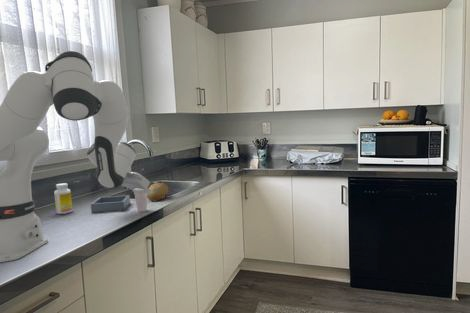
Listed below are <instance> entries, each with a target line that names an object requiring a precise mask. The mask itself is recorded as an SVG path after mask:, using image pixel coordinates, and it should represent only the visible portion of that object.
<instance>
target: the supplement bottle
mask: <svg viewBox="0 0 470 313" xmlns="http://www.w3.org/2000/svg"><path fill="white" fill-rule="evenodd" d="M68 185H69V184H68V183H66V182H64V183H63V182H62V183H57V184H55V188H56V190H54V191H53V192H54V193H53V194H54V202H55V211H56V214H58V215H65V214H70V213H72V212H73V211H74V210H73V201H72V200H73V199H72V190H71V189H70V188H68Z"/></svg>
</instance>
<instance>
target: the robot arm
mask: <svg viewBox="0 0 470 313" xmlns="http://www.w3.org/2000/svg"><path fill="white" fill-rule="evenodd" d="M86 57H87V56H85V55H83V54H82V53H80V52H77V51H73V50H69V51H65V52H61V53H60V54H58V55H56V56H55V58H54V59H53V60H51V61H49V62H47V63H46V64H45V67H44V68H45V69H44V70H45V72H40V71H34V70H29V71H26V72H23V73H22V74H20V75H19V76H18V77H17V78H16V80H15V81H14V82H13V83H12V84H11V86H10V87H9V89H8V90H7V92H6V93H5V96H4V98H3V100H2V103H1V104H0V162H4V161H6V165H5V167H4V169H3V170H2V171H0V263H5V262H11V261H14V260H18V259H21V258H23V257H24V256H26V255H28V254H30V253H31V252H33V251H35V250H37V249H38V248H40V247H42V246H43V245H46V244H47V243H48V242H49V241H48V240H49V239H48V238H46V237H44V233H43V228H42V223H41V222H42V221H41V218H40V217H39V216H38V215H37V214H36V213H35V211H36V209H35V208H36V207H35V200H34V199H33V196H32V174H33V171H34V167H35V166H36V163H37V161H38V160H39V159H40V158H41V156H43V155H44V154H45V153H46V152H47V150H48V148H49V145H50V139H49V136H48V134H47V132H46V131H45V130H44V129H43V128H42V127H40V126H41V124H42V122H43V120H44V118H45V116H46V115H47V114H48V111H49V110H50V108H51V107H52V106H53V107H54V109H55V111H56V114H58V116H60V117H61V118H63V119H65V120H68V121H74V122H75V121H76V122H77V121H81V120H87V119H88V118H89V119H90V118H91V117H93V118H92V119H93V126H94V143H93V144H91V146H90V147H89V148H88V150H87V152H86V156H87V158H88V160H89V161H90V162H91V163H92V164H93V165H94V166H95V167H97V170H96V171H95V178H96V180H97V182H98V184H100V185H101V186H102V187H104V188H106V189H111V190H112V189H115V188H116V189H117V188H119V187H125V188H128V189H129V190H131V191H132V192H133V189H135V188H137V189H143V190H144V192H145V193H149V192H150V189H149V187H150V186H151V183H150V180H148V179H147V178H146V177H145V176H144V175H142V174H140V173H139V172H136V171H135V172H134V171H132V164H133V163H134V161H135V159H136V157H137V153H136V150H135V149H134V147H133V146H132V145H131V144H129V143H128V142H126V141H121V140H122V139H123V137H124V134H125V133H126V131H127V129H128V126H129V120H130V114H129V108H128V104H127V100H126V97H125V95H124V93H123V90H122V88H121V86H119V85H118V84H117V83H116V82H114V81H111V80H106V79H105V80H99V81H96V80H94V76H93V68H92V65H91V63H90V62H89V60H88V58H86Z"/></svg>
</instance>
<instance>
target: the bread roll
mask: <svg viewBox="0 0 470 313" xmlns="http://www.w3.org/2000/svg"><path fill="white" fill-rule="evenodd" d="M148 188H149V189H150V192H149V193H147V200H149V201H151V202H157V201H160V200H161V199H163V198H165V197H166V196H168V194H169V186H168V185H167V183H164V182H162V183H161V182H156V183H153V184H150V185H149V186H148Z"/></svg>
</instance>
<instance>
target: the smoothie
mask: <svg viewBox="0 0 470 313" xmlns="http://www.w3.org/2000/svg"><path fill="white" fill-rule="evenodd" d="M132 192H133V194H134V195H133V196H134V199H135V205H136V210H137V212H139V213H140V212H141V213H142V212H146V211H147V208H148V207H147V206H148V197H147V193H145V192H144V190H143V189H137V188H135V189H133V191H132Z"/></svg>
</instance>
